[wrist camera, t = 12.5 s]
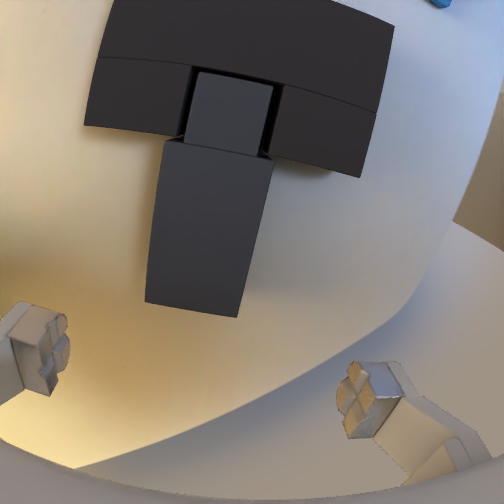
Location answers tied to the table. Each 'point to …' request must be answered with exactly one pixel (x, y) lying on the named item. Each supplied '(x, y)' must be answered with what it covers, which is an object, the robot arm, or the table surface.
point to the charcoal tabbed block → (210, 199)
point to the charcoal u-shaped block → (248, 70)
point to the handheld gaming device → (442, 3)
